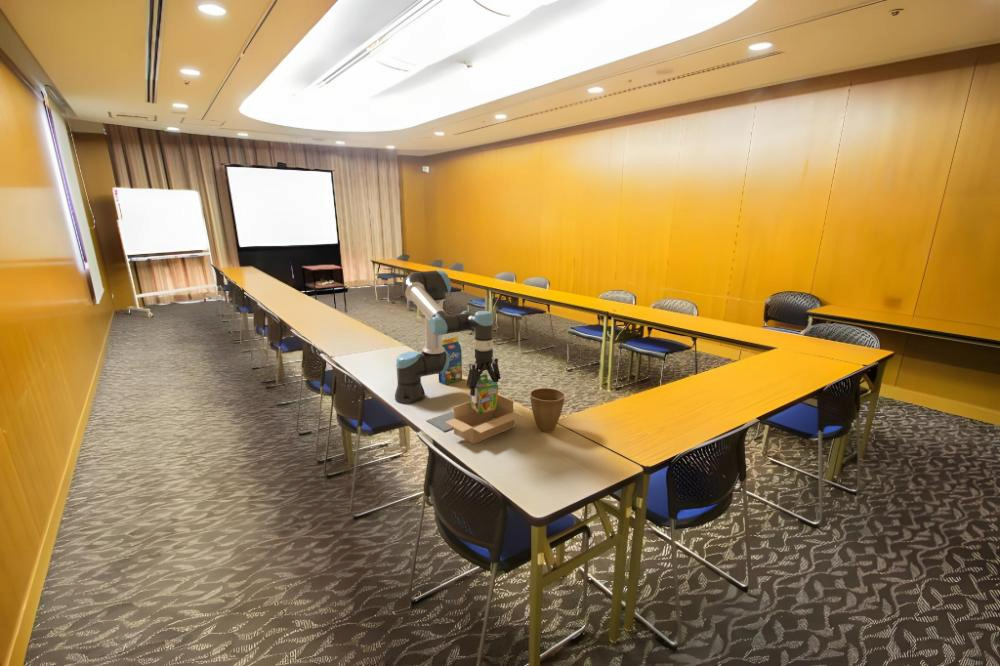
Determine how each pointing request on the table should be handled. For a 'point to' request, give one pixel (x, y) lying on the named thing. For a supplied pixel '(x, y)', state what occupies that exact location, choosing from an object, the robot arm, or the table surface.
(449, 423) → the carton
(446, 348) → the blue food package
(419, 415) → the table surface
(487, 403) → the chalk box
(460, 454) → the table surface
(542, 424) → the plant pot
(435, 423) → the mat
